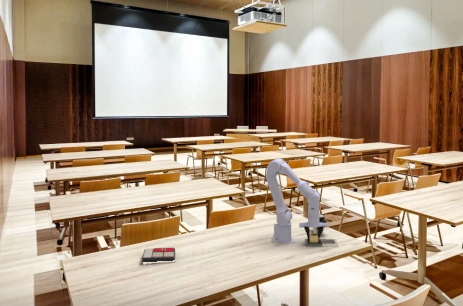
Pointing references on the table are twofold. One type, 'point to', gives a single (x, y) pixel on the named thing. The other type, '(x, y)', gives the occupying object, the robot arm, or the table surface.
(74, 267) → the table surface
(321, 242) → the tray
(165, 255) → the grey and red box
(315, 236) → the brass cube with hole
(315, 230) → the pneumatic valve
